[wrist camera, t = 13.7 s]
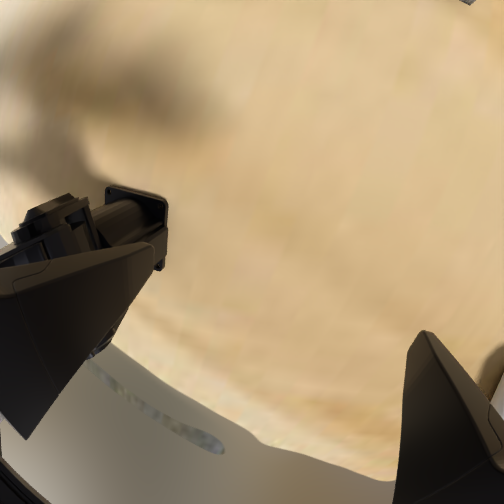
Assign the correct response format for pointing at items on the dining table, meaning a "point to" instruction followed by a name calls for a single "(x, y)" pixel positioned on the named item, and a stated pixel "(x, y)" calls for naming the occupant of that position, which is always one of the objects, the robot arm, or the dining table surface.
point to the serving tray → (468, 1)
